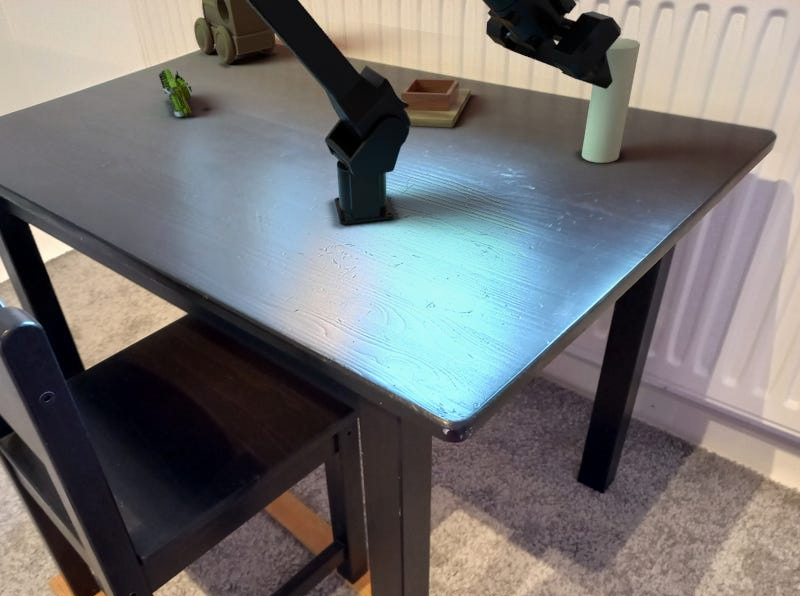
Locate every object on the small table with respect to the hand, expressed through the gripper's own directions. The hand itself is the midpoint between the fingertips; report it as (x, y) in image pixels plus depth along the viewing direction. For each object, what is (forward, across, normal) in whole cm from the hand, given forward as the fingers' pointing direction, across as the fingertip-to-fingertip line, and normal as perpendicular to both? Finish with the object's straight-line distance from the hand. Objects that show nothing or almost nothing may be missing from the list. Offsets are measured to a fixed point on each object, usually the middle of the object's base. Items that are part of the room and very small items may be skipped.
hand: (584, 74), depth 85 cm
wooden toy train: (-11, +78, +26) cm, 83 cm away
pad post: (+11, 0, +5) cm, 12 cm away
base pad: (+3, +28, +13) cm, 30 cm away
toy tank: (-22, +54, +37) cm, 69 cm away
